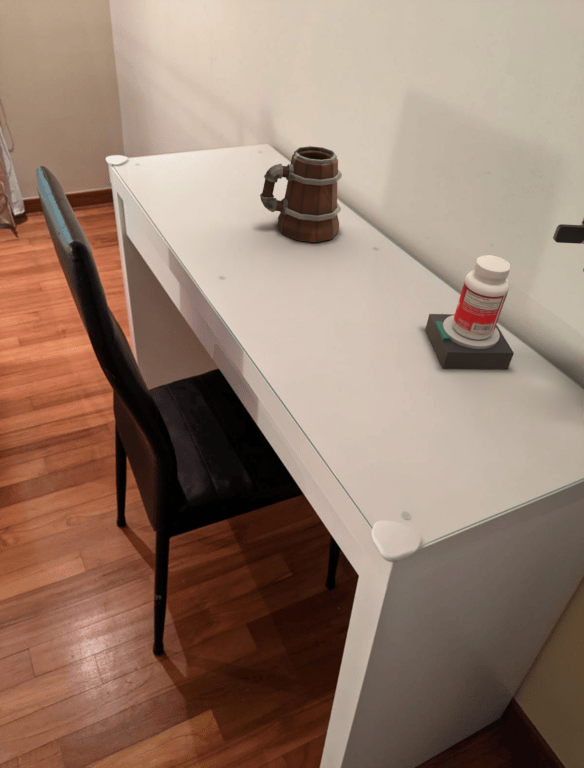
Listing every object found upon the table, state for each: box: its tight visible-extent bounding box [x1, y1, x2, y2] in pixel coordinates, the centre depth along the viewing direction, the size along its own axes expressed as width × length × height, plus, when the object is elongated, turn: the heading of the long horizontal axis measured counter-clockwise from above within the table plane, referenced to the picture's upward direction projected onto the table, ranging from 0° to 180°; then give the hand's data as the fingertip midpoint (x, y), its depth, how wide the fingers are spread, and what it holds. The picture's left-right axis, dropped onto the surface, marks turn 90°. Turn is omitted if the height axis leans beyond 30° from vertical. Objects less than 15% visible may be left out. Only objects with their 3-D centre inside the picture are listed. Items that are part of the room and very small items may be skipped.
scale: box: [424, 313, 515, 370], centre depth 92 cm, size 10×10×4 cm
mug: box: [259, 145, 343, 243], centre depth 116 cm, size 16×12×15 cm
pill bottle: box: [453, 254, 511, 340], centre depth 88 cm, size 6×6×11 cm
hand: (570, 248), depth 75 cm, fingers open, 8 cm apart
